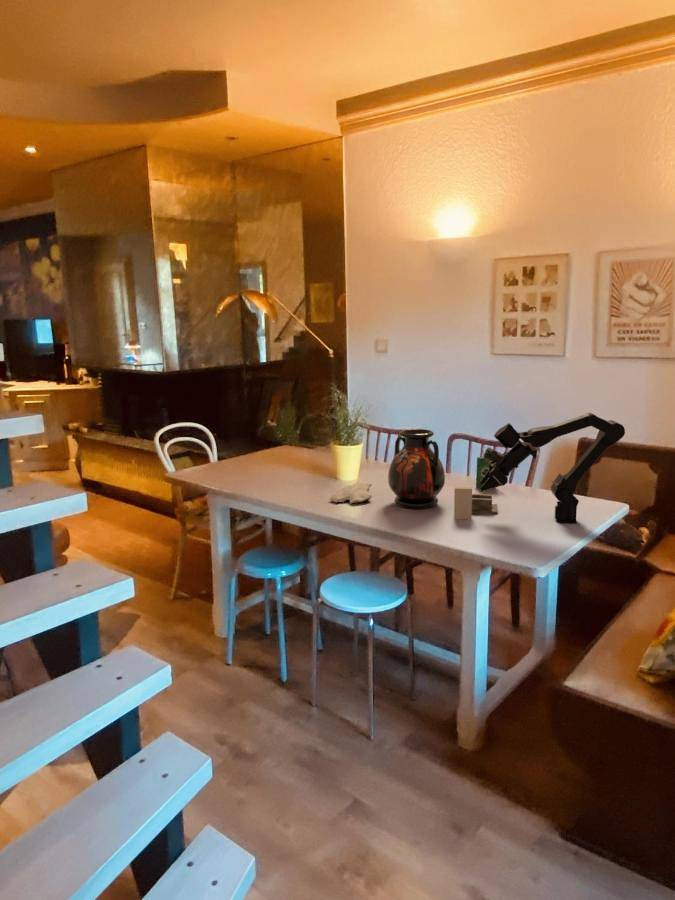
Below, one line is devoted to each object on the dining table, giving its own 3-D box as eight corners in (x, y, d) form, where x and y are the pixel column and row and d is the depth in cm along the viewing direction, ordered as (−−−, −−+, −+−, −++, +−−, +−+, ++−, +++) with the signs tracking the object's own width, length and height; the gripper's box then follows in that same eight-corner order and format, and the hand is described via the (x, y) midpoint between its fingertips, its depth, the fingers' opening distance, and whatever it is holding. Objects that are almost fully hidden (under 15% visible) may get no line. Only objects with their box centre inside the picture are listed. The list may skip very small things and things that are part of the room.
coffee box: (493, 486, 277) (493, 455, 274) (496, 487, 274) (497, 456, 271) (475, 488, 274) (476, 457, 272) (478, 489, 272) (479, 458, 269)
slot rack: (497, 506, 248) (497, 493, 248) (497, 514, 239) (497, 501, 238) (458, 504, 251) (459, 492, 250) (457, 512, 242) (458, 499, 241)
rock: (388, 497, 265) (360, 487, 275) (389, 486, 264) (361, 477, 274) (352, 513, 251) (324, 502, 261) (352, 501, 249) (324, 491, 259)
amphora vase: (376, 505, 253) (375, 432, 247) (409, 493, 269) (409, 424, 263) (424, 515, 239) (424, 439, 233) (455, 502, 255) (456, 430, 249)
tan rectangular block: (471, 516, 237) (472, 486, 234) (471, 519, 234) (472, 489, 231) (454, 516, 238) (454, 486, 236) (454, 518, 235) (454, 488, 233)
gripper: (497, 435, 237) (465, 464, 241) (498, 445, 219) (463, 476, 223) (519, 457, 236) (486, 486, 241) (522, 469, 219) (486, 500, 223)
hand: (480, 486), depth 232 cm, fingers open, 9 cm apart
